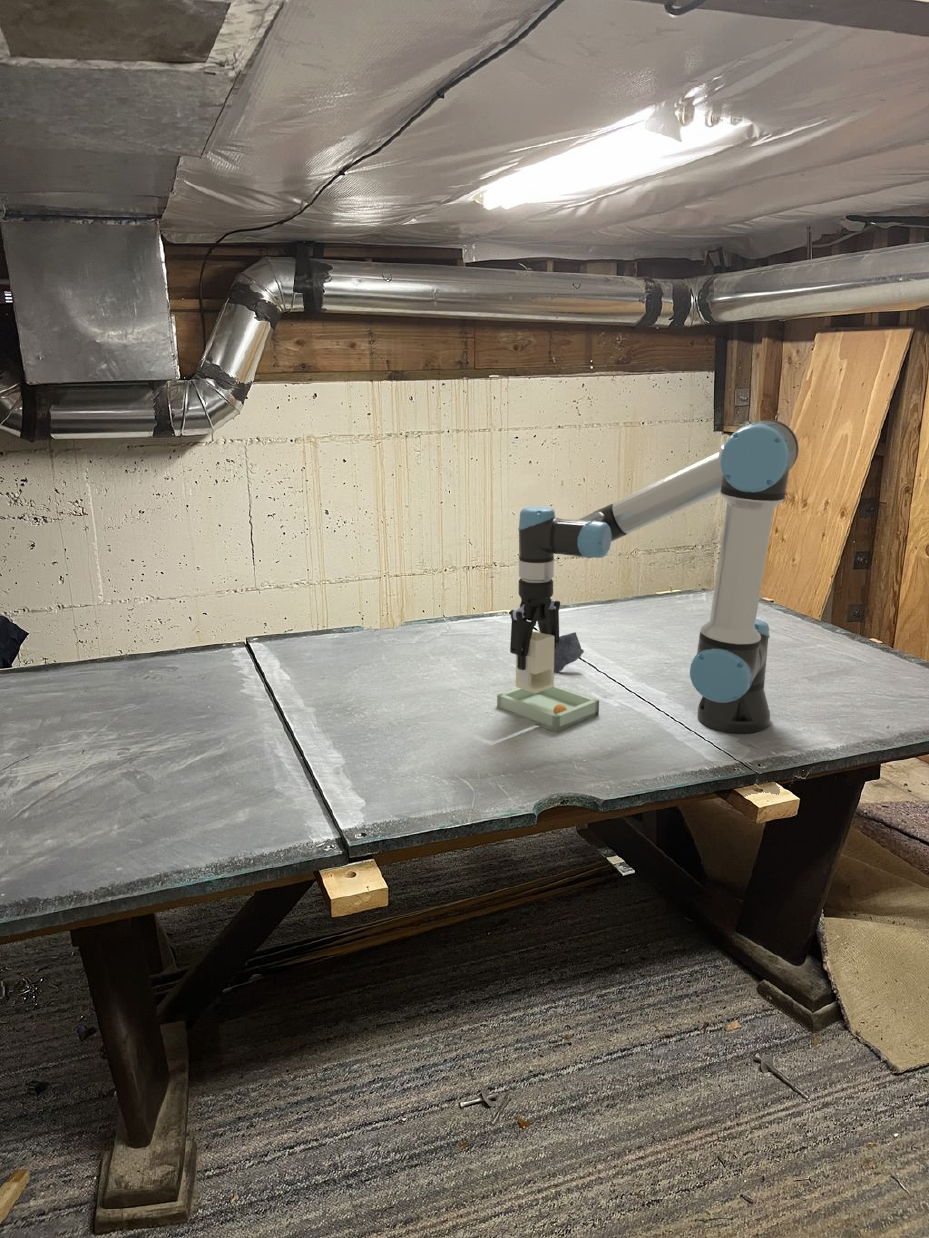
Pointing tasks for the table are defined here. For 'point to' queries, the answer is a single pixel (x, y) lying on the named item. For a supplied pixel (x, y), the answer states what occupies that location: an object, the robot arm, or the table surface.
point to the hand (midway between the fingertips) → (534, 678)
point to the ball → (559, 708)
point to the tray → (550, 706)
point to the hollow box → (539, 663)
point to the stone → (566, 651)
